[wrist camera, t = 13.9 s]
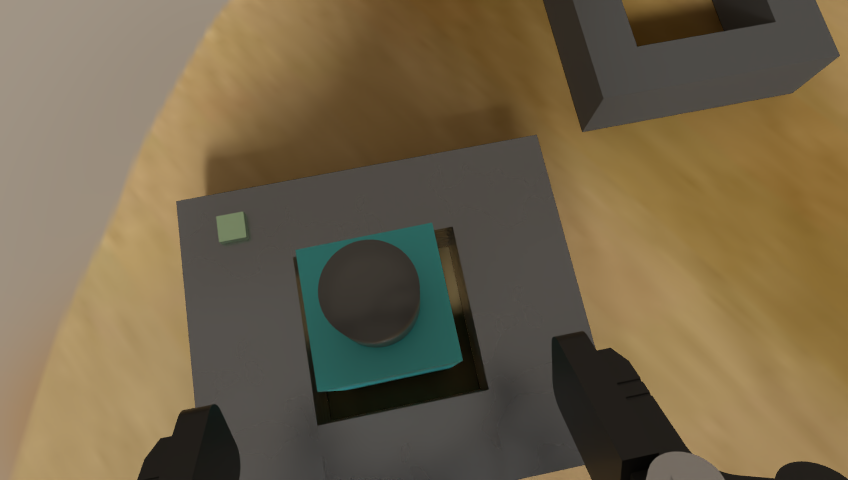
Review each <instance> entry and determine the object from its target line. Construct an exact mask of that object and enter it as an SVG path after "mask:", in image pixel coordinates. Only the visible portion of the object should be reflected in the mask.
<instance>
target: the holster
mask: <svg viewBox="0 0 848 480" xmlns="http://www.w3.org/2000/svg"><path fill="white" fill-rule="evenodd" d="M543 1H544V4H545V8H546V11H547V14H548V18H549V21H550V24H551V28H552V31H553V35H554V38H555V41H556V45H557V48H558V51H559V55H560V58H561V61H562V65H563V68H564V72H565V75H566V78H567V82H568V85H569V88H570V92H571V95H572V98H573V102H574V105H575V109H576V112H577V115H578V119H579V122H580V125H581V129H582V132H585V131H590V130H596V129H601V128H607V127H612V126H617V125H623V124H628V123H634V122H639V121H644V120H650V119H655V118H661V117H666V116H671V115H677V114H682V113H688V112H693V111H698V110H704V109H709V108H715V107H720V106H725V105H731V104H736V103H742V102H747V101H752V100H758V99H763V98H769V97H774V96H779V95H785V94H790V93H793V92H794V91H796V90H797V89H798V88H799V87H801V86H802V85H803V84H804V83H806V82H807V81H808V80H810V79H811V78H812V77H813V76H815V75H816V74H817V73H818V72H820V71H821V70H822V69H823V68H825V67H826V66H827V65H829V64H830V63H831V62H832V61H834V60H835V59H836V58H837V57H839V56H840V55H839V52H838V50H837V48H836V46H835V43H834V41H833V39H832V37H831V34H830V32H829V30H828V27H827V25H826V23H825V21H824V18H823V16H822V14H821V12H820V9H819V7H818V5H817V3H816V0H712V1H713V4H714V6H715V9H716V11H717V14H718V17H719V19H720V22H721V24H722V27H723V29H724V31H723V32H717V33H711V34H706V35H700V36H695V37H689V38H683V39H678V40H672V41H666V42H661V43H655V44H650V45H644V46H638V47H637V45H636V42H635V39H634V36H633V33H632V30H631V27H630V24H629V21H628V18H627V15H626V12H625V9H624V6H623V3H622V0H543Z"/></svg>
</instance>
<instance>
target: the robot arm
mask: <svg viewBox="0 0 848 480" xmlns="http://www.w3.org/2000/svg"><path fill="white" fill-rule="evenodd" d="M552 383H553V390H554V395H555V398H556V402H557V405H558V407H559V410H560V412H561V414H562V416H563V418H564V420H565V423H566V425H567V427H568V429H569V431H570V433H571V436H572V438H573V440H574V442H575V444H576V446H577V449H578V451H579V453H580V455H581V457H582V459H583V462H584V464H585V466H586V468H587V470H588V472H589V475H590V477H591V479H592V480H848V479H847V478H846V477H844V476H843V475H841V474H840V473H838V472H836V471H834V470H833V469H831V468H828V467H826V466H823V465H820V464H817V463H812V462H802V461H801V462H793V463H789V464H786V465H784V466H783V467H782V468H780V469H779V471H778V472H777V474H776V477H775V479H774V478H762V477H751V476H739V475H732V474H728V473H724V472H721V471H718V470H717V468H715V467H714V466H713V465H712V464H711V463H709V462H708V461H706V460H705V459H703V458H701V457H699V456H696V455H694V454H692V453H691V452H690V451H689V449H688V448H687V447H686V445H685V444H684V442H683V441H682V439H681V438H680V436H679V435H678V434H677V432H676V431H675V429H674V428H673V426H672V425H671V423H670V422H669V420H668V419H667V417H666V416H665V414H664V413H663V411H662V410H661V408H660V407H659V405H658V404H657V402H656V401H655V399H654V398H653V396H651V395H650V392H649V390H648V389H647V387H646V386H645V384H644V383H643V382H641V380H640V377H639V375H638V374H637V372H636V371H635V369H634V368H633V366H632V365H631V363H630V362H629V361H628V360H627V359H625V358H624V357H622V356H621V355H620V354H618V353H617V352H615V351H614V350H613V349H611V348H608V349H603V350H598V351H597V350H596V349H595V347H594V345H593V344H592V342H591V340H590V339H589V337H588V336H587V334H586V333H585V332H584V331H580V332H575V333H570V334H565V335H560V336H555V337H553V338H552ZM240 469H241V464H240V455H239V450H238V447H237V444H236V442H235V440H234V438H233V436H232V434H231V431H230V429H229V427H228V425H227V423H226V421H225V418H224V416H223V414H222V412H221V410H220V408H219V407H218V405H216V404H212V405H207V406H202V407H197V408H192V409H187V410H183V411H181V412H180V414H179V416H178V419H177V422H176V425H175V429H174V432H173V435H172V436H170V437H165V438H160V440H159V441H158V442H157V444H156V445H155V446H154V448H153V449H152V450H151V452H150V453H149V454H148V455H147V457H146V458H145V459H144V462H143V465H142V468H141V471H140V474H139V477H138V479H137V480H239V478H240Z"/></svg>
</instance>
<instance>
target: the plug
mask: <svg viewBox="0 0 848 480" xmlns="http://www.w3.org/2000/svg"><path fill="white" fill-rule="evenodd" d="M295 251H296V257H297V264H298V270H299V276H300V283H301V289H302V296H303V302H304V308H305V315H306V321H307V328H308V334H309V341H310V347H311V353H312V360H313V366H314V373H315V379H316V385H317V392H324V391H341V390H353V389H358V388H363V387H367V386H372V385H376V384H381V383H386V382H390V381H395V380H400V379H404V378H409V377H413V376H418V375H423V374H427V373H432V372H437V371H441V370H446V369H450V368H451V367H453V366H455V365H456V364H458V363H460V362H461V361H463V358H462V354H461V350H460V345H459V341H458V336H457V332H456V327H455V323H454V318H453V314H452V309H451V305H450V300H449V296H448V291H447V287H446V282H445V278H444V273H443V269H442V264H441V260H440V255H439V251H438V246H437V242H436V237H435V233H434V228H433V224H432V223H427V224H422V225H417V226H412V227H407V228H402V229H397V230H392V231H387V232H382V233H377V234H372V235H367V236H362V237H357V238H352V239H347V240H342V241H337V242H332V243H327V244H322V245H318V246H313V247H308V248H303V249H298V250H295Z"/></svg>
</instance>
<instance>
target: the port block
mask: <svg viewBox="0 0 848 480" xmlns="http://www.w3.org/2000/svg"><path fill="white" fill-rule="evenodd" d="M176 203H177V214H178V225H179V235H180V246H181V257H182V268H183V278H184V289H185V300H186V311H187V322H188V332H189V343H190V354H191V365H192V376H193V386H194V397H195V408H197V407H202V406H207V405H212V404H216V405H218V407H219V408H220V410H221V412H222V414H223V416H224V418H225V421H226V423H227V425H228V427H229V429H230V431H231V434H232V436H233V438H234V440H235V442H236V444H237V447H238V450H239V455H240V464H241V469H240V478H239V480H518V479H523V478H527V477H532V476H536V475H541V474H545V473H550V472H555V471H559V470H564V469H568V468H573V467H577V466H582V465H585V464H584V462H583V459H582V457H581V455H580V453H579V451H578V449H577V446H576V444H575V442H574V440H573V438H572V436H571V433H570V431H569V429H568V427H567V425H566V423H565V420H564V418H563V416H562V414H561V412H560V410H559V407H558V405H557V402H556V398H555V395H554V390H553V383H552V338H553V337H555V336H560V335H565V334H570V333H575V332H580V331H584V332H585V333H586V334H587V336H588V337H589V339H590V340H591V342H592V344H593V345H594V342H593V338H592V334H591V331H590V327H589V323H588V320H587V316H586V312H585V309H584V305H583V302H582V298H581V294H580V291H579V287H578V283H577V280H576V276H575V272H574V269H573V265H572V261H571V258H570V254H569V251H568V247H567V243H566V240H565V236H564V232H563V229H562V225H561V221H560V218H559V214H558V210H557V207H556V203H555V200H554V196H553V192H552V189H551V185H550V181H549V178H548V174H547V170H546V167H545V163H544V159H543V156H542V152H541V148H540V145H539V141H538V138H537V135H533V136H527V137H522V138H517V139H511V140H506V141H500V142H495V143H490V144H484V145H479V146H473V147H468V148H462V149H457V150H452V151H446V152H441V153H435V154H430V155H425V156H419V157H414V158H408V159H403V160H397V161H392V162H387V163H381V164H376V165H370V166H365V167H360V168H354V169H349V170H343V171H338V172H333V173H327V174H322V175H316V176H311V177H305V178H300V179H295V180H289V181H284V182H278V183H273V184H268V185H262V186H257V187H251V188H246V189H240V190H235V191H230V192H224V193H219V194H213V195H208V196H203V197H197V198H192V199H186V200H181V201H176ZM427 223H432V224H433V228H434V233H435V237H436V242H437V246H438V248H442V247H447V246H449V249H450V254H451V258H452V263H453V267H454V272H455V277H456V281H457V286H458V290H459V295H460V299H461V304H462V309H463V313H464V318H465V322H466V327H467V331H468V336H469V341H470V345H471V350H472V354H473V359H474V363H475V368H476V373H477V377H478V382H479V386H480V389H479V390H475V391H470V392H465V393H460V394H455V395H451V396H446V397H441V398H436V399H432V400H427V401H422V402H417V403H412V404H408V405H403V406H398V407H393V408H389V409H384V410H379V411H374V412H369V413H365V414H360V415H355V416H350V417H346V418H341V419H336V420H331V416H330V410H329V403H328V397H327V391H324V392H317V385H316V379H315V373H314V366H313V360H312V353H311V347H310V341H309V334H308V328H307V321H306V315H305V308H304V302H303V296H302V289H301V283H300V276H299V270H298V264H297V257H296V251H295V250H298V249H303V248H308V247H313V246H318V245H322V244H327V243H332V242H337V241H342V240H347V239H352V238H357V237H362V236H367V235H372V234H377V233H382V232H387V231H392V230H397V229H402V228H407V227H412V226H417V225H422V224H427ZM594 347H595V345H594Z"/></svg>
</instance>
